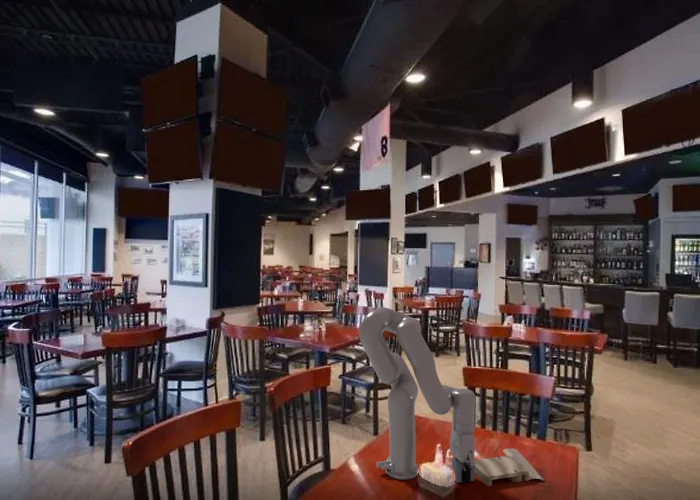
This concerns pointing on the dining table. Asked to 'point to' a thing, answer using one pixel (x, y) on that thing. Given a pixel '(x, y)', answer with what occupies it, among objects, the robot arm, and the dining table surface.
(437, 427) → the dining table surface
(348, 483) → the dining table surface
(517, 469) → the miniature wooden pallet
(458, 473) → the grey hollow block
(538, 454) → the dining table surface
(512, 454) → the beige piece
